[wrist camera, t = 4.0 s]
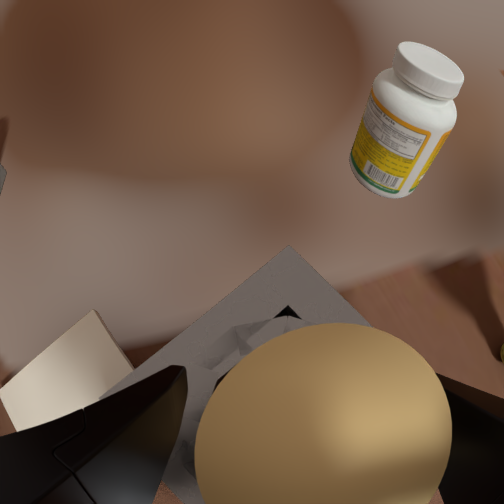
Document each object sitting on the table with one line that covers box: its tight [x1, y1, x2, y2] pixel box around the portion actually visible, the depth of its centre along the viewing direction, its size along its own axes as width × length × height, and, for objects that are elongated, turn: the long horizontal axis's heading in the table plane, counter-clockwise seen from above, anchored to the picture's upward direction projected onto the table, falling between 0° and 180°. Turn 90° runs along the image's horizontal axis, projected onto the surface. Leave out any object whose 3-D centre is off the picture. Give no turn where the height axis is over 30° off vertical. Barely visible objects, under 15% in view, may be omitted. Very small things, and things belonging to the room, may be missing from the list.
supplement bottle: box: [350, 42, 464, 198], centre depth 17 cm, size 5×5×10 cm
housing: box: [99, 245, 373, 504], centre depth 13 cm, size 12×12×2 cm
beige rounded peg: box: [194, 323, 452, 504], centre depth 9 cm, size 5×5×11 cm
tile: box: [0, 309, 135, 432], centre depth 13 cm, size 9×9×1 cm
